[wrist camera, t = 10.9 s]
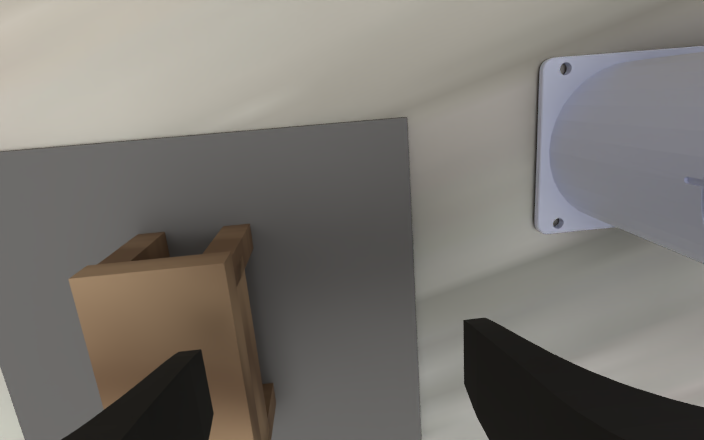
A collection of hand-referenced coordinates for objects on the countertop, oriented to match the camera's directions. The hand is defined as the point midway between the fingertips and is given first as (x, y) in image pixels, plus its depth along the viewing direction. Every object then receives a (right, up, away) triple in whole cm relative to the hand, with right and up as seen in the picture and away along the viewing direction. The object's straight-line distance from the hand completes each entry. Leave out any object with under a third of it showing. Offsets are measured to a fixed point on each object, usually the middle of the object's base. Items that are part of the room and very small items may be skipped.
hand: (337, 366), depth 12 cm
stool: (-6, -1, +9) cm, 11 cm away
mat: (-6, -1, +10) cm, 12 cm away
